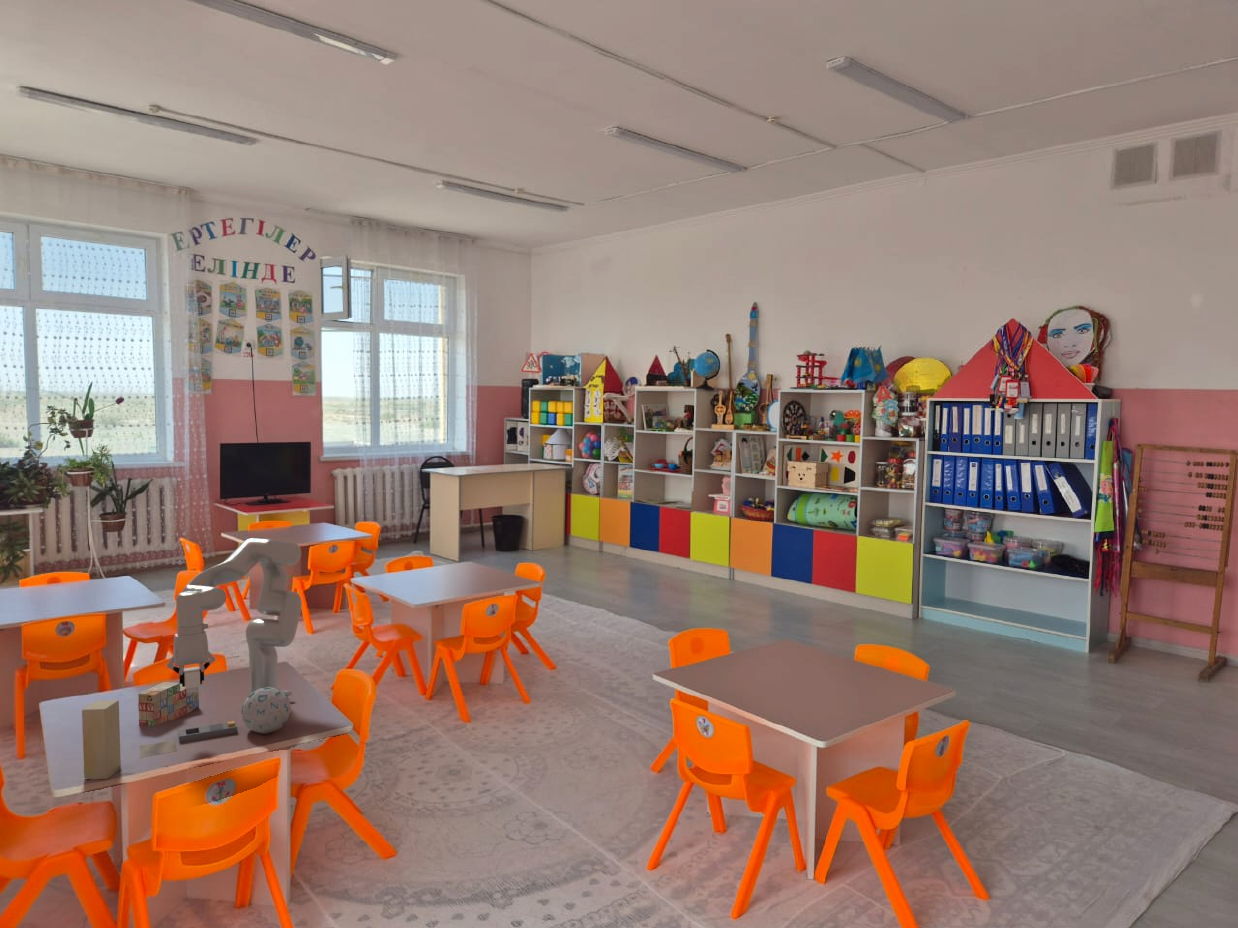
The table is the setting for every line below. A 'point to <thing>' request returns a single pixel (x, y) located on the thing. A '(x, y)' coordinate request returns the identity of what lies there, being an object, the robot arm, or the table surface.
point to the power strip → (207, 731)
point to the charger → (192, 679)
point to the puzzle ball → (266, 710)
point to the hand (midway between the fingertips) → (192, 683)
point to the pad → (158, 748)
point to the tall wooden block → (101, 739)
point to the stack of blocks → (165, 703)
